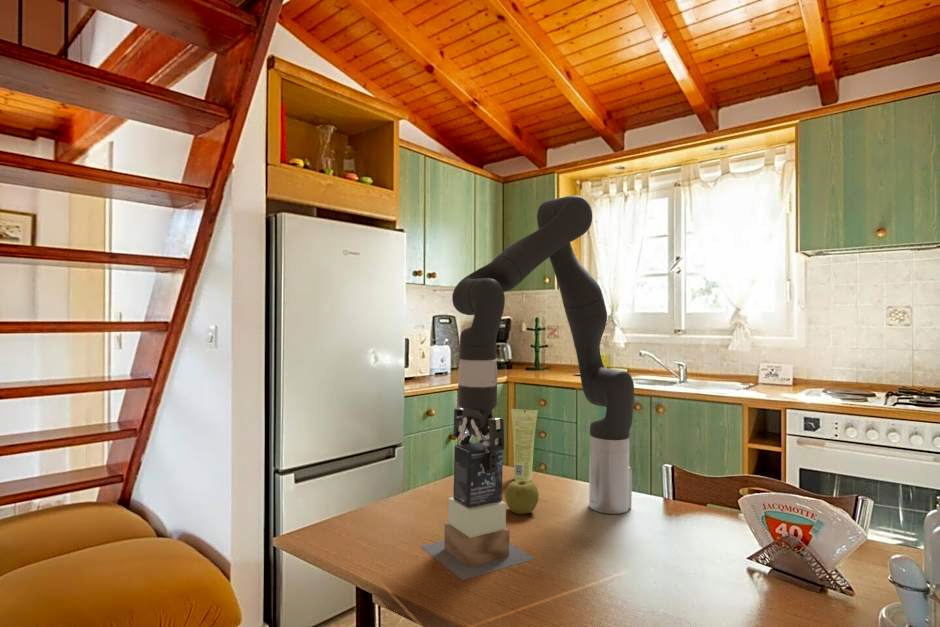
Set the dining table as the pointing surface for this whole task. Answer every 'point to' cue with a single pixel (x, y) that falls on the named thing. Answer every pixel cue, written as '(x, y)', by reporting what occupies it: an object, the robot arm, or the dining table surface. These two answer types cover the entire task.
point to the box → (476, 476)
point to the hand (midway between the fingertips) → (477, 466)
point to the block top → (477, 517)
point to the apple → (521, 496)
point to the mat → (467, 572)
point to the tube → (523, 442)
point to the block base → (476, 546)
